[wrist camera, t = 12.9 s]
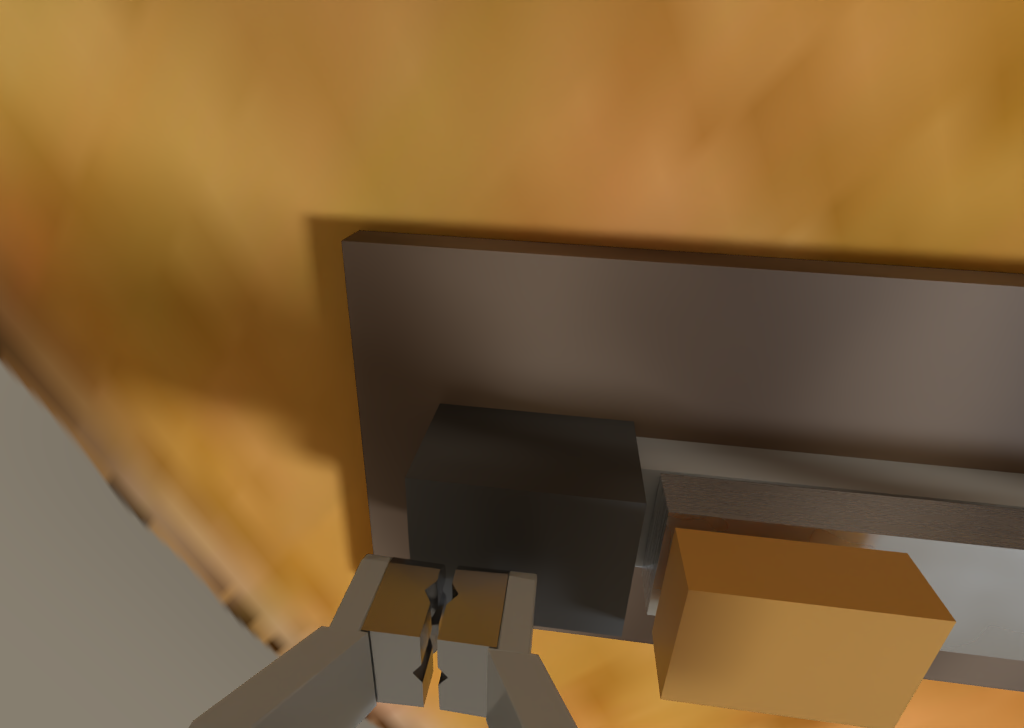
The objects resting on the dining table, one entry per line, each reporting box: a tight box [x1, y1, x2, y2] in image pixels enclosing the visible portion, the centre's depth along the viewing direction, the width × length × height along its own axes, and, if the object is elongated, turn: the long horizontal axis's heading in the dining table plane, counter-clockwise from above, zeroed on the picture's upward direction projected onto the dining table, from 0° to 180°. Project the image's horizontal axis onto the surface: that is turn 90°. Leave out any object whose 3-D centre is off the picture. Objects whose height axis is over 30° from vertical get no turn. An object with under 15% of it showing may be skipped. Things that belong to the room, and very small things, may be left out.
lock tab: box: [652, 528, 956, 728], centre depth 10 cm, size 4×3×1 cm
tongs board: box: [342, 230, 1024, 692], centre depth 12 cm, size 29×11×4 cm, turn 88°
